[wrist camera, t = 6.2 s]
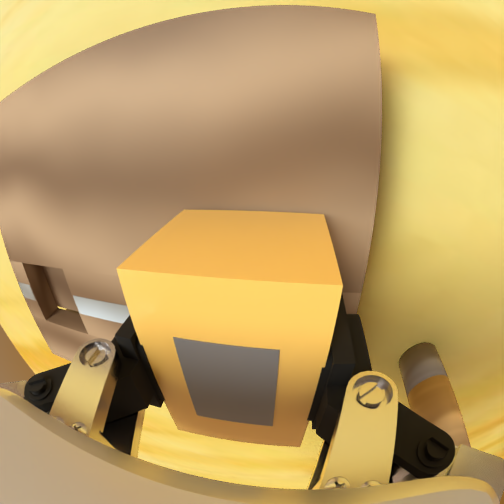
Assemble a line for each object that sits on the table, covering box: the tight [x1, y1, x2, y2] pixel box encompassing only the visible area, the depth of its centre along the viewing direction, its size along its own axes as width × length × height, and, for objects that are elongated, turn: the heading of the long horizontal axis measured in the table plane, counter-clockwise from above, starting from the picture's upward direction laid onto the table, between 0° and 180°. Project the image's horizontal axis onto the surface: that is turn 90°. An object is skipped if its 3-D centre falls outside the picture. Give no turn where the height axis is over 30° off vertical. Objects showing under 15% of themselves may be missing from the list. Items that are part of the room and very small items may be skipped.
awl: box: [399, 343, 471, 447], centre depth 12 cm, size 3×3×9 cm
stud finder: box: [116, 210, 343, 447], centre depth 8 cm, size 7×4×4 cm, turn 1°
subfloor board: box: [0, 5, 382, 361], centre depth 12 cm, size 18×20×4 cm
